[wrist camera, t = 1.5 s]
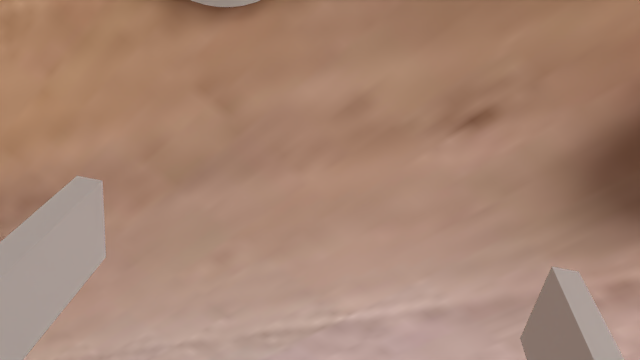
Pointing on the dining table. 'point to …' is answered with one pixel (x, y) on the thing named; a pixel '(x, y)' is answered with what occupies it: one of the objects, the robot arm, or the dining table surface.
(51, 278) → the robot arm
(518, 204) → the dining table surface
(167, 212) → the dining table surface
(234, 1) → the white dome
